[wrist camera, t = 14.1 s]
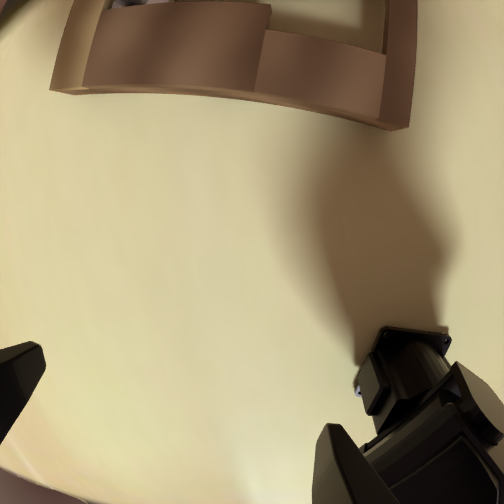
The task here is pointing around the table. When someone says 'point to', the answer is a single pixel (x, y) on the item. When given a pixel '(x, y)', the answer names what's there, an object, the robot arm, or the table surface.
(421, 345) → the robot arm
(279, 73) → the keyhole board
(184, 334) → the table surface
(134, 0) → the headed peg
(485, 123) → the table surface
